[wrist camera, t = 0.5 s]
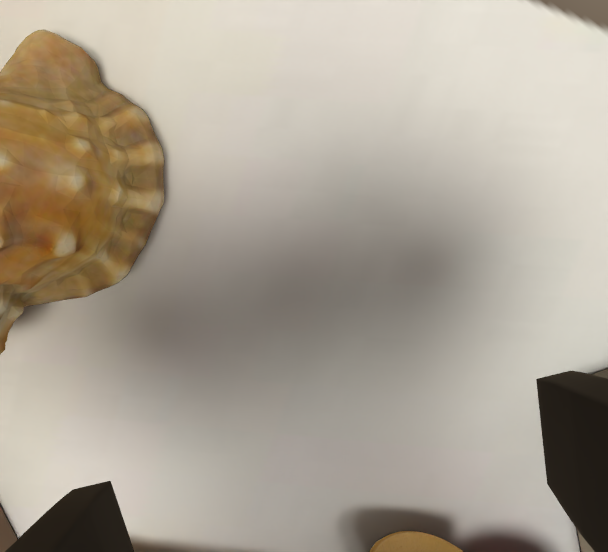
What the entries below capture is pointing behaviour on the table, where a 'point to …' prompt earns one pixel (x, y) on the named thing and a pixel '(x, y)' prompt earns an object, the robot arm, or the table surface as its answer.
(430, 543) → the kendama
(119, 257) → the seashell
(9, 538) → the control block
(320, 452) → the table surface
